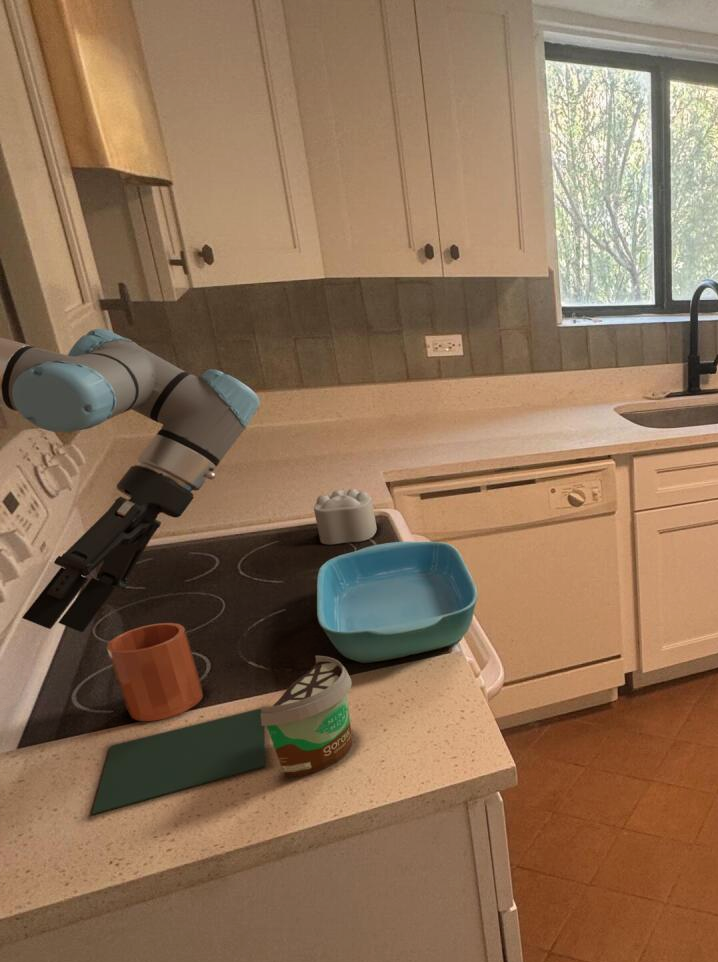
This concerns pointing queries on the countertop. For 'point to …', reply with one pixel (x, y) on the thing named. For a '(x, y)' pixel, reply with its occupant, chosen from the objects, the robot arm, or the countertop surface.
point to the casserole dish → (395, 600)
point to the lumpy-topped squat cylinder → (345, 517)
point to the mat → (181, 760)
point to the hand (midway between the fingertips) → (54, 626)
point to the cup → (155, 671)
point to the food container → (312, 719)
